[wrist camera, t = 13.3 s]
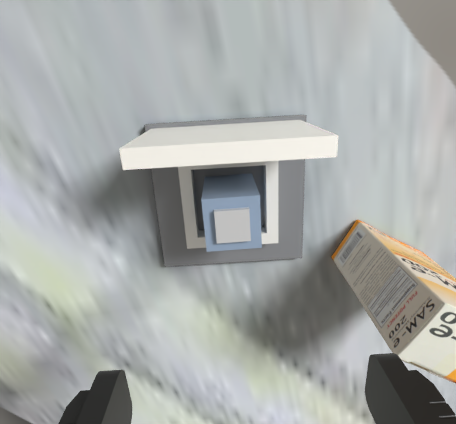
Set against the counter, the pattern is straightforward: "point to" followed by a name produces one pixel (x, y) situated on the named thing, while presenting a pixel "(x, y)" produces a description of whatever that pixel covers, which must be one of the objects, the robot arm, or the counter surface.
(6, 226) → the counter surface
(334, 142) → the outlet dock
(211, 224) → the block
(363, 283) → the supplement box
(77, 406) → the robot arm
